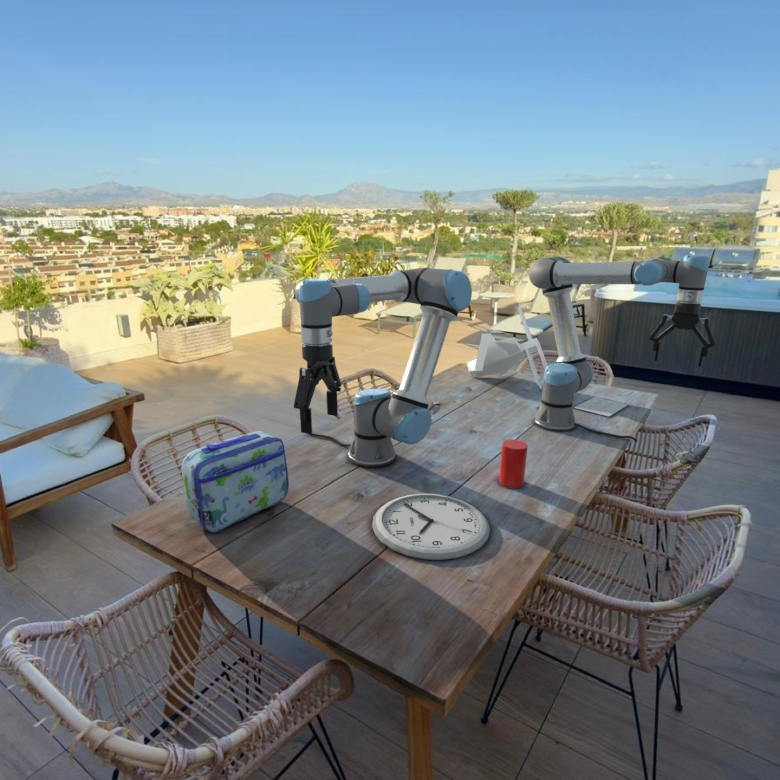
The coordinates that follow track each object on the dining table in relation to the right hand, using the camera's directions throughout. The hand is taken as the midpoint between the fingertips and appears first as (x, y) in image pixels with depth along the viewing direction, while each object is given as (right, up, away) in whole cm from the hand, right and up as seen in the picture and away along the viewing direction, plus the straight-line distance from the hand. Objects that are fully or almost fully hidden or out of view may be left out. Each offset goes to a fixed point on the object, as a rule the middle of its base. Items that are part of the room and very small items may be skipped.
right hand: (677, 362), depth 184 cm
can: (-64, -37, -26) cm, 79 cm away
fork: (-83, -17, +39) cm, 93 cm away
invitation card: (-9, -17, +43) cm, 47 cm away
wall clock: (-91, -44, -49) cm, 112 cm away
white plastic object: (-44, -6, +74) cm, 87 cm away
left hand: (-119, -18, -48) cm, 130 cm away
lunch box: (-140, -42, -46) cm, 154 cm away
